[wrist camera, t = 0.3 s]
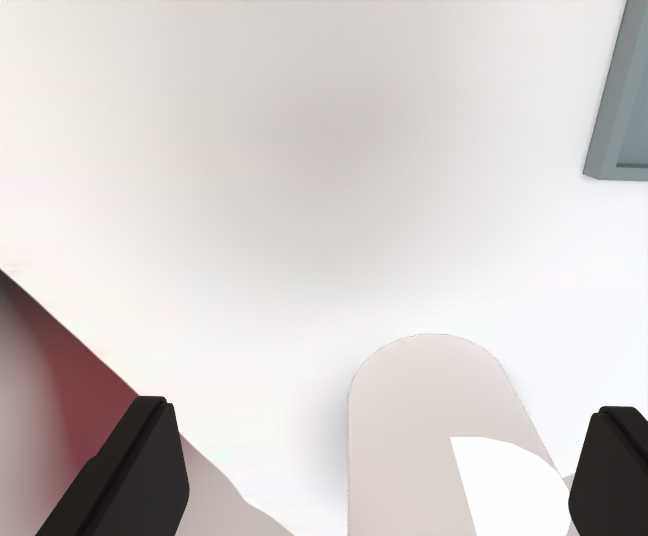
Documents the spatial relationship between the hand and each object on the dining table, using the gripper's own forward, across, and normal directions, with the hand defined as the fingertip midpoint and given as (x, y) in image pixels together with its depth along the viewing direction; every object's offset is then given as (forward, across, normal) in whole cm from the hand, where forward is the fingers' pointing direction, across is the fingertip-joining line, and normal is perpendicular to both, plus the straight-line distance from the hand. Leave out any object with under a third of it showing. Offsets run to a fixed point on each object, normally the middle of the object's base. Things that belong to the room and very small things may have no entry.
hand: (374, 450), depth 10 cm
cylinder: (+31, -8, +24) cm, 40 cm away
